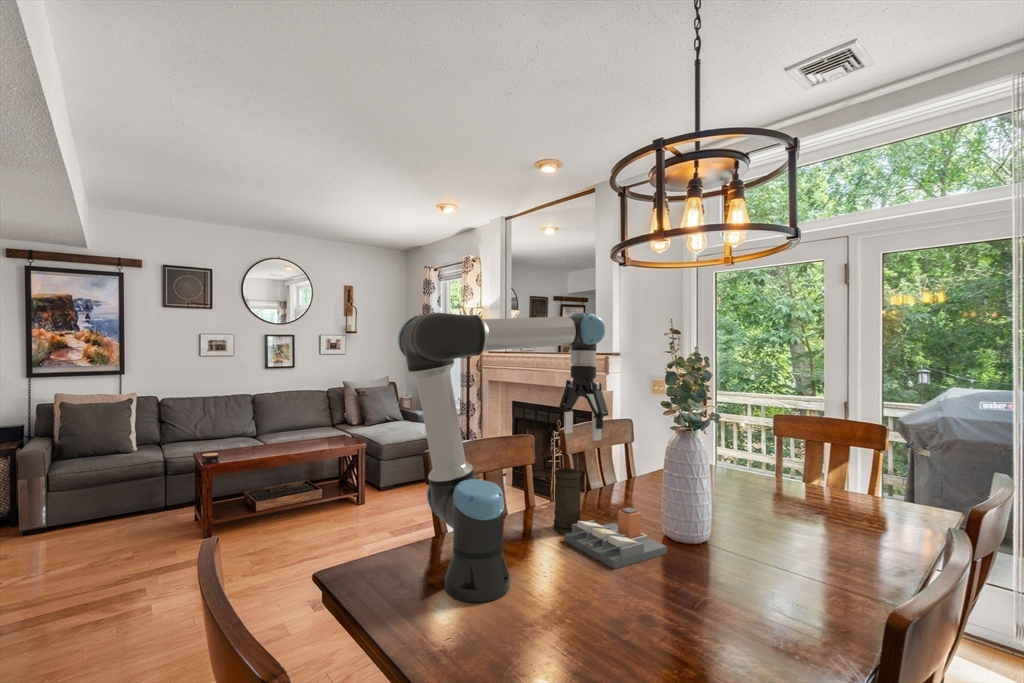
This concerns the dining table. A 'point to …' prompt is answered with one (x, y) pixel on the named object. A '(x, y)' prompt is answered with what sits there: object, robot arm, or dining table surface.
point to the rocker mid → (604, 533)
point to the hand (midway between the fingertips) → (582, 436)
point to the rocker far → (588, 525)
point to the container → (567, 499)
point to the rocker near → (621, 541)
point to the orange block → (629, 523)
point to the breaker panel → (614, 547)
